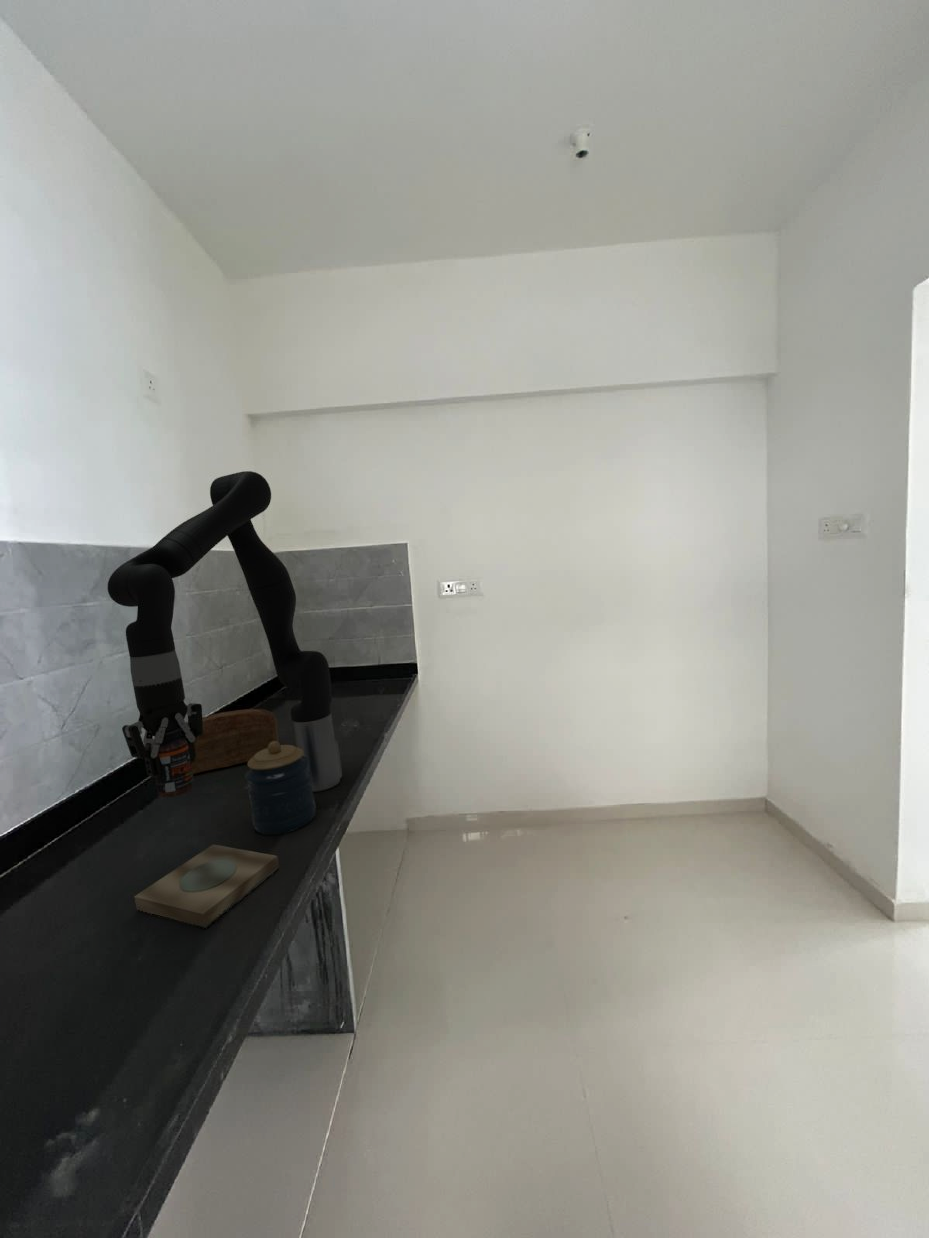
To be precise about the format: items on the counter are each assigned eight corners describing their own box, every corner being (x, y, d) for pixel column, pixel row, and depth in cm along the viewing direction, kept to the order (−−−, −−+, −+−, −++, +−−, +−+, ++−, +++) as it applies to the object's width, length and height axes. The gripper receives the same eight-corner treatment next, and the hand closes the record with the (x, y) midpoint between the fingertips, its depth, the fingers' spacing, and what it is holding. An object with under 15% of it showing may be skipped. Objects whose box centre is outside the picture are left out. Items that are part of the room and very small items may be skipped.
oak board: (215, 856, 105) (213, 843, 104) (279, 868, 98) (277, 854, 98) (136, 910, 90) (134, 895, 90) (205, 928, 84) (202, 912, 83)
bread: (282, 758, 154) (274, 709, 153) (173, 782, 145) (163, 730, 143) (280, 745, 166) (273, 699, 164) (179, 766, 156) (170, 719, 154)
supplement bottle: (178, 798, 94) (167, 736, 93) (150, 798, 96) (138, 737, 94) (202, 783, 100) (192, 724, 99) (175, 783, 102) (165, 725, 100)
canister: (242, 825, 116) (229, 746, 114) (297, 800, 126) (285, 727, 123) (272, 843, 107) (258, 758, 105) (328, 815, 117) (317, 736, 114)
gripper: (130, 690, 87) (149, 789, 90) (206, 668, 100) (221, 755, 102) (102, 689, 91) (120, 784, 93) (179, 668, 103) (194, 753, 106)
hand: (173, 769), depth 98 cm, fingers closed on supplement bottle, 6 cm apart
